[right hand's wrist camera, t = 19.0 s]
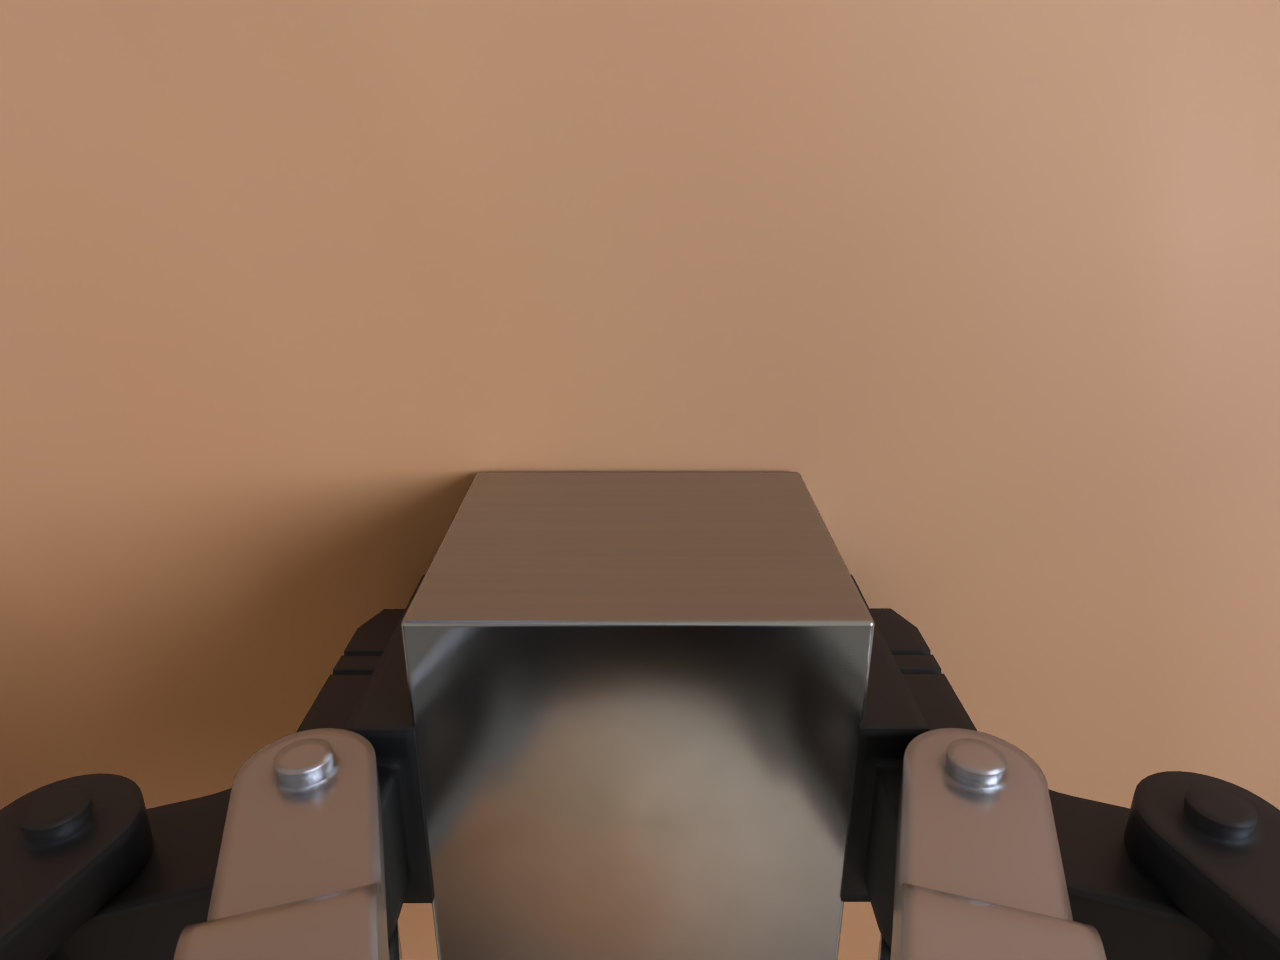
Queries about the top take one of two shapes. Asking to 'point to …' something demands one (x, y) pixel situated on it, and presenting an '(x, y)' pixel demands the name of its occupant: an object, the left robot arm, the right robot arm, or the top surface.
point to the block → (637, 718)
